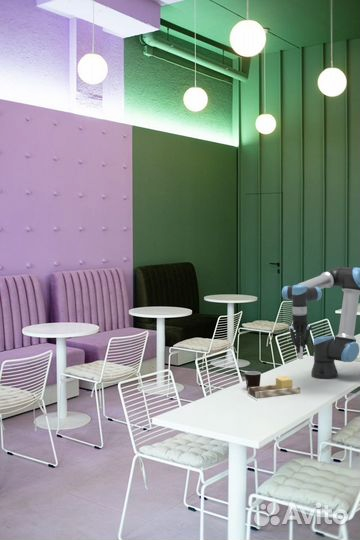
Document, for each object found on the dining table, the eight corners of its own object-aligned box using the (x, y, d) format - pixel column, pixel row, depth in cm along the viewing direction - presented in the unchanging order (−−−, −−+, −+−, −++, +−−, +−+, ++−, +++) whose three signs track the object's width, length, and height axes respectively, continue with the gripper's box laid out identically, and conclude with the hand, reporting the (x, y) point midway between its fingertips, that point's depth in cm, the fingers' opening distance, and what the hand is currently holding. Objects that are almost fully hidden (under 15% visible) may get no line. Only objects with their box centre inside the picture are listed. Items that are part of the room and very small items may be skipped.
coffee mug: (260, 393, 329) (260, 374, 328) (244, 393, 331) (244, 374, 330) (262, 388, 340) (261, 370, 340) (246, 387, 342) (246, 369, 342)
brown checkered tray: (290, 390, 334) (289, 382, 334) (300, 395, 322) (300, 387, 322) (247, 395, 326) (247, 387, 326) (257, 400, 315) (256, 392, 315)
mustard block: (286, 389, 330) (286, 376, 330) (292, 392, 324) (292, 379, 323) (276, 390, 329) (275, 377, 328) (282, 394, 322) (281, 380, 321)
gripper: (292, 315, 321) (292, 360, 322) (314, 314, 325) (315, 358, 326) (285, 314, 328) (286, 358, 330) (307, 312, 332) (307, 356, 334)
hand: (300, 358), depth 328 cm, fingers closed
